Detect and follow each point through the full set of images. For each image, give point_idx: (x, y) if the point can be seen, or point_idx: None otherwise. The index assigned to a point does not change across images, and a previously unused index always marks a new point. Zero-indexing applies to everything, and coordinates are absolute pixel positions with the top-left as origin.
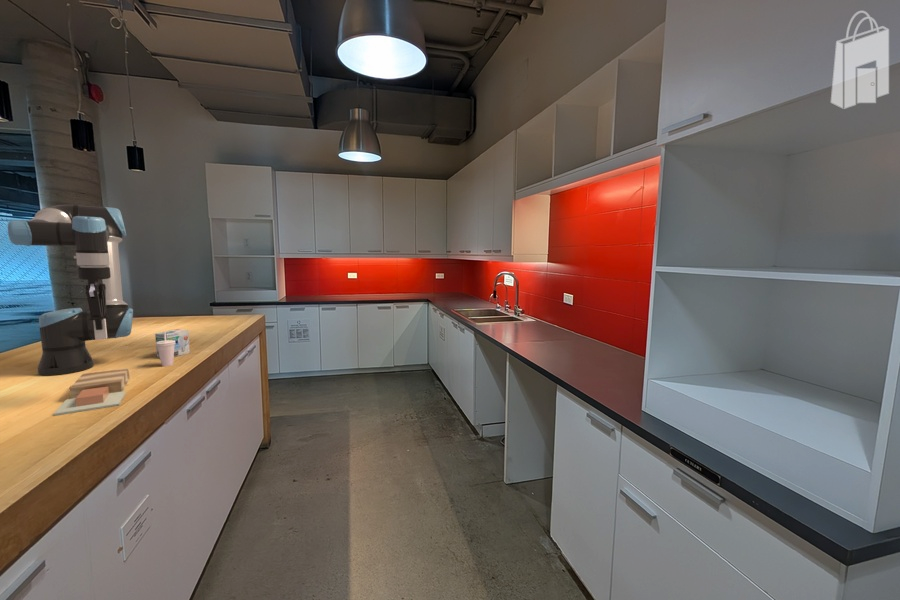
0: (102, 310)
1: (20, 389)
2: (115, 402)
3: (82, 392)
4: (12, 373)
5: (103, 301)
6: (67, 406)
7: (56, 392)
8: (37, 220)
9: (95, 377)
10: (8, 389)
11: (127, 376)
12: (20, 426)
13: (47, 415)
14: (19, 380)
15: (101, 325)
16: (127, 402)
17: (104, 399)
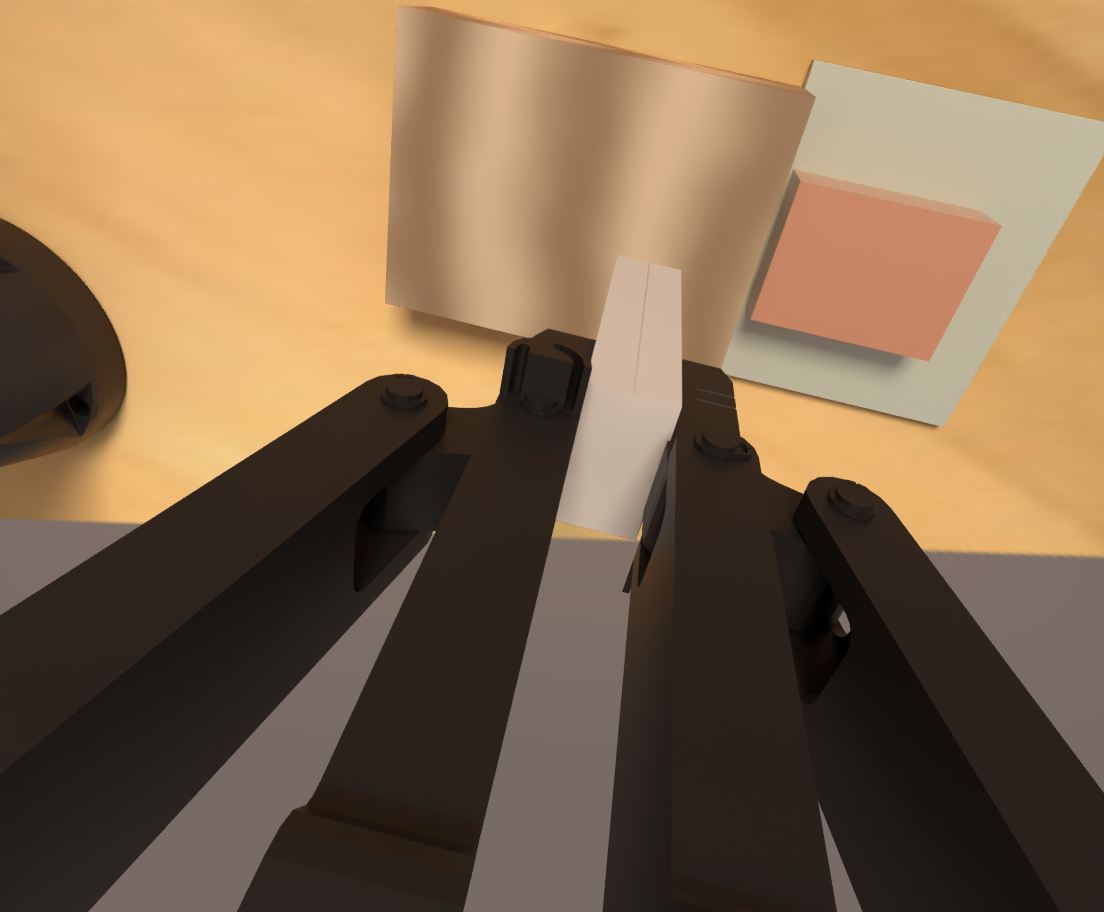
0: (719, 554)
1: None
2: (1068, 145)
3: (816, 323)
4: (23, 506)
5: (442, 680)
6: (865, 372)
7: (484, 391)
8: None
9: (541, 245)
10: None
11: (495, 23)
12: (972, 520)
13: (900, 439)
14: (162, 493)
15: (734, 406)
16: (1096, 65)
17: (948, 205)
